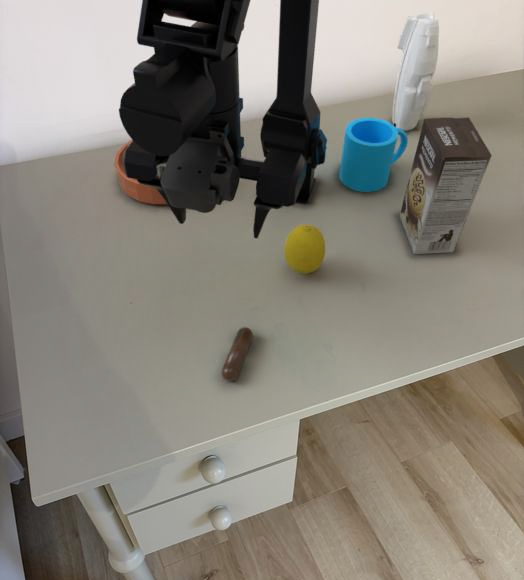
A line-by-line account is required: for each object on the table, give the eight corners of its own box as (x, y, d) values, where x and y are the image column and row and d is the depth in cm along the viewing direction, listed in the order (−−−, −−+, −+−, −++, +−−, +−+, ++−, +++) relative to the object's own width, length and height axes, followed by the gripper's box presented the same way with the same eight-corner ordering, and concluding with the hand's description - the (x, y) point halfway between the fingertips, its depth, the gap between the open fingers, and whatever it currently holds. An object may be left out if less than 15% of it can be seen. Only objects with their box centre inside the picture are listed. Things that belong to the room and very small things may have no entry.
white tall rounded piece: (377, 119, 100) (399, 138, 96) (396, 12, 86) (423, 30, 82) (406, 111, 102) (429, 130, 97) (430, 6, 87) (457, 23, 83)
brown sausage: (254, 336, 68) (240, 332, 68) (254, 326, 66) (239, 322, 67) (235, 385, 63) (219, 381, 64) (235, 376, 62) (218, 372, 62)
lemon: (326, 262, 76) (332, 218, 70) (316, 289, 73) (321, 245, 67) (290, 254, 77) (292, 209, 71) (278, 279, 74) (279, 235, 68)
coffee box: (397, 215, 83) (422, 116, 70) (437, 213, 83) (470, 114, 70) (412, 255, 77) (442, 156, 64) (455, 253, 77) (494, 154, 65)
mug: (358, 197, 85) (366, 151, 79) (329, 171, 90) (335, 126, 83) (416, 176, 89) (428, 130, 82) (386, 151, 93) (395, 106, 87)
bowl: (223, 160, 91) (222, 139, 88) (192, 214, 83) (190, 193, 79) (142, 146, 94) (138, 125, 91) (104, 197, 85) (98, 176, 82)
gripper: (79, 128, 47) (117, 259, 59) (283, 162, 44) (278, 293, 56) (132, 70, 53) (156, 199, 66) (313, 97, 50) (302, 227, 63)
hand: (219, 228), depth 62 cm, fingers open, 9 cm apart
